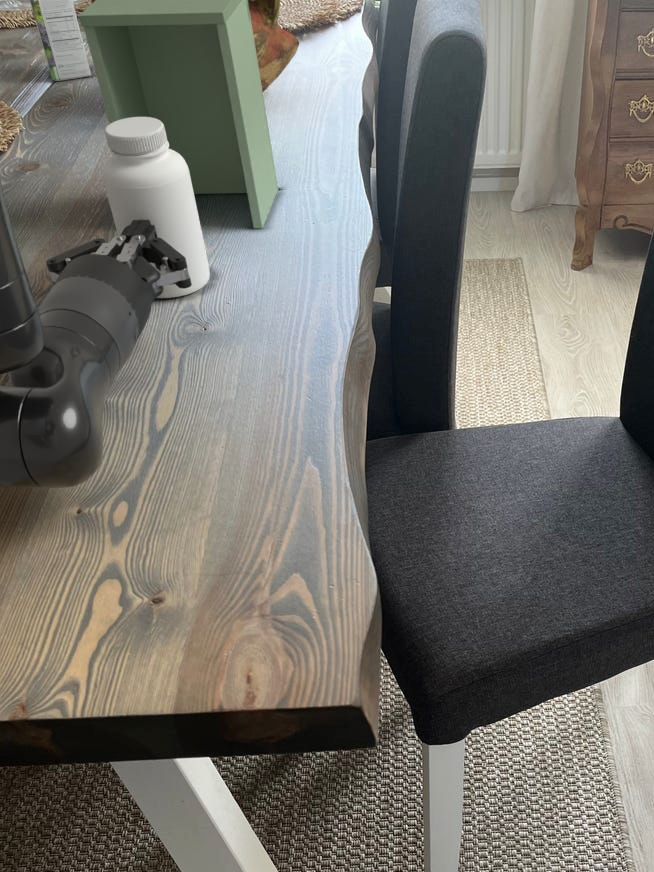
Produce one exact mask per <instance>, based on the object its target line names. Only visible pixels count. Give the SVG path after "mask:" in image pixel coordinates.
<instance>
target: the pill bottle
mask: <svg viewBox="0 0 654 872" xmlns="http://www.w3.org/2000/svg"><path fill="white" fill-rule="evenodd" d="M104 134H105V138H106V143H107V146H108V149H109V150H110V153H111V156H110V157H108V159H107V160H106V161H105V162H104V164H103V168H102V180H103V181H102V182H103V185H104V189H105V192H106V196H107V199H108V203H109V207H110V211H111V214H112V218H113V221H114V226H115V230H116V232H117V236H118V235H121V233H122V231H123V230H124V228H125V227H127V226H128V225H130V224H131V223H132V221H133V220H150V223H151V225H154V226H155V229H156V233H157V237H158V238H162V239H163V240H164V241H165V242H167V243H168V244H169V245H170V246H172V247H173V248H174V249H175V250H177V251H178V252H179V253H180V254H182V255H183V256H184V257H185V258H186V262H187V267H188V271H189V275H190V279H191V283H192V285H191V286H190V287H189V288H179V287H178V286H177V285H175V284H173V285H170V284H169V285H165V286H163V287H164V289H163V292H162V294H161V295H160V296H158V297H157V298H156V299H171V298H178V297H182V296H187V295H190V294H193V293H195V292H197V291H199V290H201V289H203V288H204V287H205V286H206V285H207V283H208V282H209V280H210V277H211V272H210V265H209V264H210V263H209V259H208V255H207V251H206V245H205V241H204V235H203V229H202V226H201V225H202V224H201V221H200V216H199V212H198V206H197V202H196V198H195V197H196V196H195V194H194V192H193V187H192V182H191V177H190V173H189V169H188V165H187V164H186V162H185V160H184V158H183V157H182V156H181V155H180V154H179V153H177V152H176V151H174V150H171V149H169V143H168V141H167V136H166V132H165V127H164V124H163V123H162V122H161V121H160V120H158V119H155V118H151V117H131V118H125V119H121V120H118V121H115V122H113V123H111V124H109V123H108V125H107V126H106V127H105V130H104ZM151 265H152V266H153V267H154V268H155V269H156V270H157V271H158V272H159V270H158V269H157V268H156V266H155V263H151Z"/></svg>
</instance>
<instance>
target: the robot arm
mask: <svg viewBox="0 0 654 872" xmlns="http://www.w3.org/2000/svg"><path fill="white" fill-rule="evenodd" d="M45 263H46V267H47V270H48V271H47V272H48V274H49V276H50V280H51V282H52V284H53V285H51V288H49V290H48V292H47V294H46V295H45V296H44V298H43V300H42V301H41V302H40V304H39V306H37V303H36V299H35V295H34V293H33V290H32V286H31V283H30V280H29V277H28V274H27V271H26V268H25V265H24V261H23V257H22V255H21V251H20V248H19V245H18V241H17V238H16V236H15V233H14V229H13V225H12V221H11V218H10V214H9V211H8V206H7V203H6V199H5V194H4V190H3V185H2V181H1V179H0V375H4V374H8V379H9V383H10V385H0V488H45V489H53V488H54V489H66V488H73V487H76V486H79V485H81V484H83V483H84V482H86V481H87V480H89V479H90V478H91V477H93V475H94V474H95V473H96V472H97V471H98V470H99V468H100V466H101V464H102V461H103V455H104V432H103V431H104V430H103V422H104V421H103V420H104V410H105V404H106V403H105V402H106V397H107V394H108V392H109V390H110V388H111V387H112V384H113V383H114V380H115V378H116V376H117V374H119V372H120V371H121V370H122V369H123V368H124V366H125V365H126V364H127V361H128V360H129V359H130V356H131V355H132V352H133V350H134V349H135V347H136V345H137V342H138V341H139V338H140V336H141V334H142V332H143V330H144V328H145V326H146V325H147V323H148V320H149V318H150V315H151V312H152V311H151V310H152V304H153V301H154V300H156V299H158V298H157V297H158V296H160V295H161V294H162V292H163V289H164V287H163V286H165V285H169V284H170V285H173V284H175V285H177V286H178V287H179V288H189V287H190V286H191V285H192V283H191V279H190V275H189V271H188V267H187V262H186V258H185V257H184V256H183V255H182V254H180V253H179V252H178V251H177V250H175V249H174V248H173V247H172V246H170V245H169V244H168V243H167V242H165V241H164V240H163V239H162V238H158V237H157V233H156V229H155V226H154V225H151V223H150V220H133V221H132V223H131V224H130V225H128V226H127V227H125V228H124V230H123V231H122V233H121V235H118V234H117V235H115V236H113V237H112V239H111V240H110V241H109V242H106V240H105V239H104V238H99V237H98V238H95V239H92V240H90V241H88V242H85V243H83V244H81V245H78V246H76V247H74V248H71V249H68V250H67V251H64V252H62V253H59V254H57V255H55V256H53V257H51V258H48V259H47V260H45ZM151 263H155V266H156V268H157V269H158V270H159V272H158V271H157V270H156V269H155V268H154V267H153V266H152V265H151Z"/></svg>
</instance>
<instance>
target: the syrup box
mask: <svg viewBox="0 0 654 872" xmlns="http://www.w3.org/2000/svg"><path fill="white" fill-rule="evenodd" d="M29 3H30V6H31V10H32V13H33V19H34V21H35V24H36V28H37V31H38V35H39V38H40V41H41V45H42V48H43V52H44V56H45V59H46V62H47V66H48V70H49V73H50V76H51V78H52V81H53V82H59V81H66V80H73V79H80V78H85V77H91V76H92V71H91V67H90V64H89V59H88V56H87V52H86V48H85V44H84V40H83V36H82V33H81V29H80V25H79V20H78V17H77V12H76V8H75V4H74V1H73V0H29Z"/></svg>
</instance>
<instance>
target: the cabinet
mask: <svg viewBox="0 0 654 872" xmlns="http://www.w3.org/2000/svg"><path fill="white" fill-rule="evenodd" d="M78 17H79V21H80V26H81V27H82V28H83V30H84V34H85V37H86V41H87V46H88V48H89V52H90V56H91V60H92V63H93V68H94V72H95V76H96V79H97V83H98V86H99V89H100V94H101V97H102V101H103V104H104V109H105V114H106V116H107V120H108V125H109V124H111V123H113V122H115V121H118V120H121V119H125V118H131V117H151V118H155V119H158V120H160V121H161V122H162V123H163V124H164V127H165V132H166V136H167V141H168V143H169V149H171V150H174V151H176V152H177V153H179V154H180V155H181V156H182V157H183V158H184V160H185V162H186V164H187V165H188V169H189V173H190V177H191V182H192V187H193V192H194V195H211V194H214V195H215V194H218V195H219V194H220V195H221V194H247V200H248V205H249V211H250V215H251V221H252V227H253V229H263V228H264V226H265V223H266V221H267V219H268V216H269V213H270V211H271V208H272V206H273V204H274V201H275V198H276V196H277V195H278V191H279V184H278V179H277V178H278V177H277V172H276V166H275V159H274V154H273V147H272V143H271V142H272V141H271V135H270V130H269V123H268V117H267V109H266V104H265V98H264V97H265V96H264V92H263V91H262V85H261V79H260V73H259V66H258V60H257V54H256V48H255V42H254V35H253V29H252V23H251V17H250V11H249V5H248V0H95V1H94V2H93V3H92V2H91V4H90V5H89V6H87V8H85V9H84V10H83V11H82V12H81V13H80V14H79V15H78Z"/></svg>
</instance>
